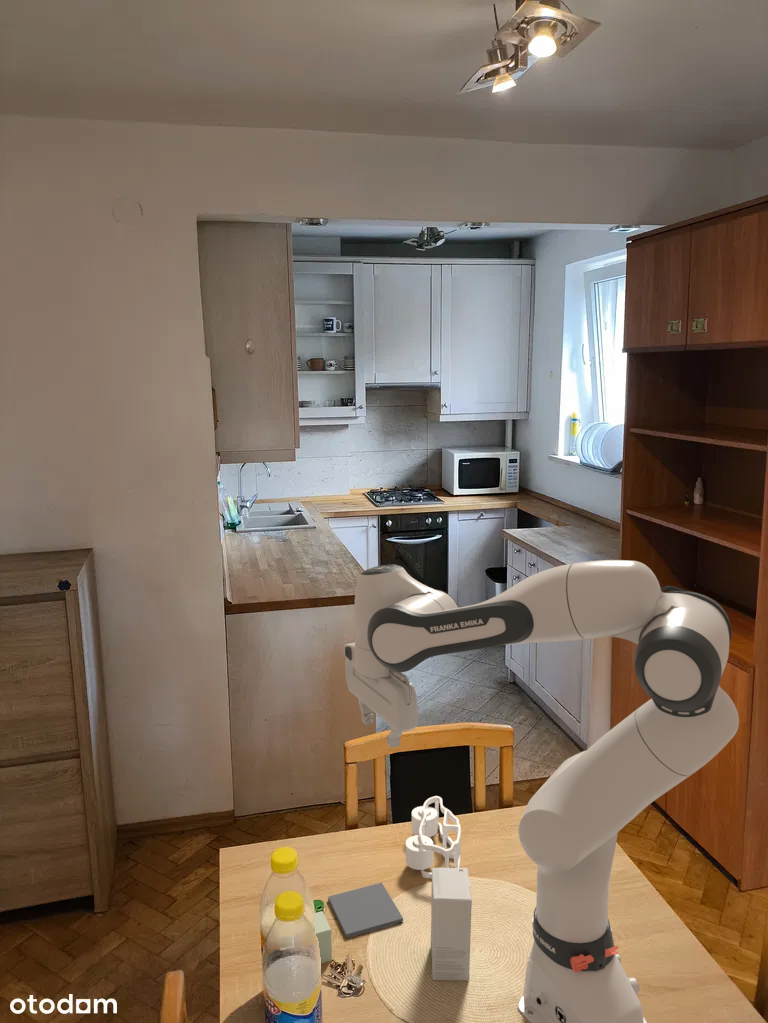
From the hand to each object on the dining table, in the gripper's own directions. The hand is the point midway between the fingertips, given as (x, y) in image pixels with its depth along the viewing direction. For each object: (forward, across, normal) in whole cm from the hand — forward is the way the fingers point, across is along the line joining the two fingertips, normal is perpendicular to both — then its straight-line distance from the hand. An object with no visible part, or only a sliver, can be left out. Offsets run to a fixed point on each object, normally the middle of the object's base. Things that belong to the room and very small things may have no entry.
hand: (380, 734), depth 132 cm
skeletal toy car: (+38, +14, -21) cm, 46 cm away
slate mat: (+38, +5, 0) cm, 38 cm away
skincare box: (+38, -14, -7) cm, 41 cm away
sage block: (+38, 0, +13) cm, 40 cm away
